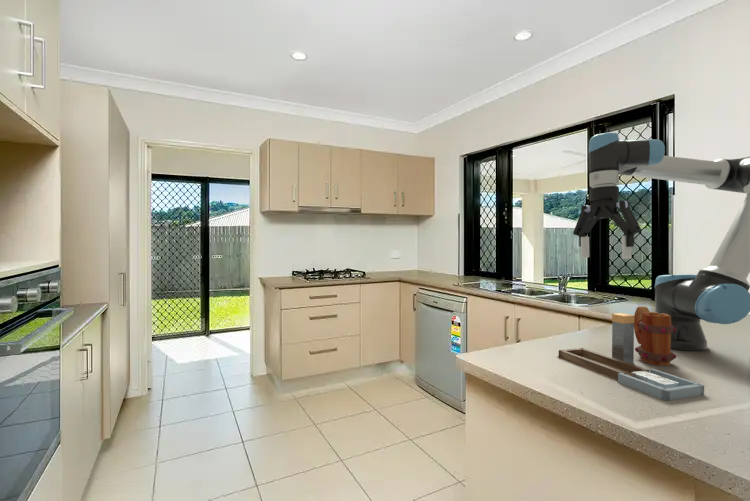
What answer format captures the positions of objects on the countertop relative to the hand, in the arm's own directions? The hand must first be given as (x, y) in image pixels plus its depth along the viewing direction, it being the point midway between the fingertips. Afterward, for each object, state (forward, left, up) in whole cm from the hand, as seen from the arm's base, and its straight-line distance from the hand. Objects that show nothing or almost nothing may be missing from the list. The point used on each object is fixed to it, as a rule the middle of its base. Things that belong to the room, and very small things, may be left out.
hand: (604, 258), depth 111 cm
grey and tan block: (+4, +9, -29) cm, 31 cm away
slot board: (+13, +10, -29) cm, 33 cm away
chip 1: (+13, +23, -29) cm, 39 cm away
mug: (-6, +9, -29) cm, 31 cm away
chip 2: (+13, +27, -29) cm, 41 cm away
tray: (+13, +26, -29) cm, 41 cm away
